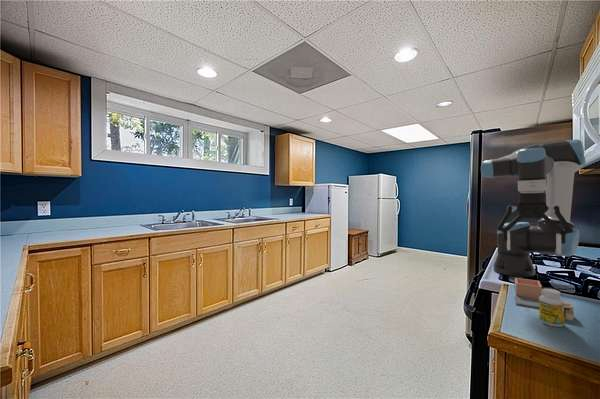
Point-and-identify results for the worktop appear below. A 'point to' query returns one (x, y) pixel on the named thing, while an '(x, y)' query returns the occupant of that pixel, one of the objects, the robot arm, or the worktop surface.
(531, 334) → the worktop surface
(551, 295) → the supplement bottle
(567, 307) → the letter cube
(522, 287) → the pink square bin
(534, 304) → the slate coaster
